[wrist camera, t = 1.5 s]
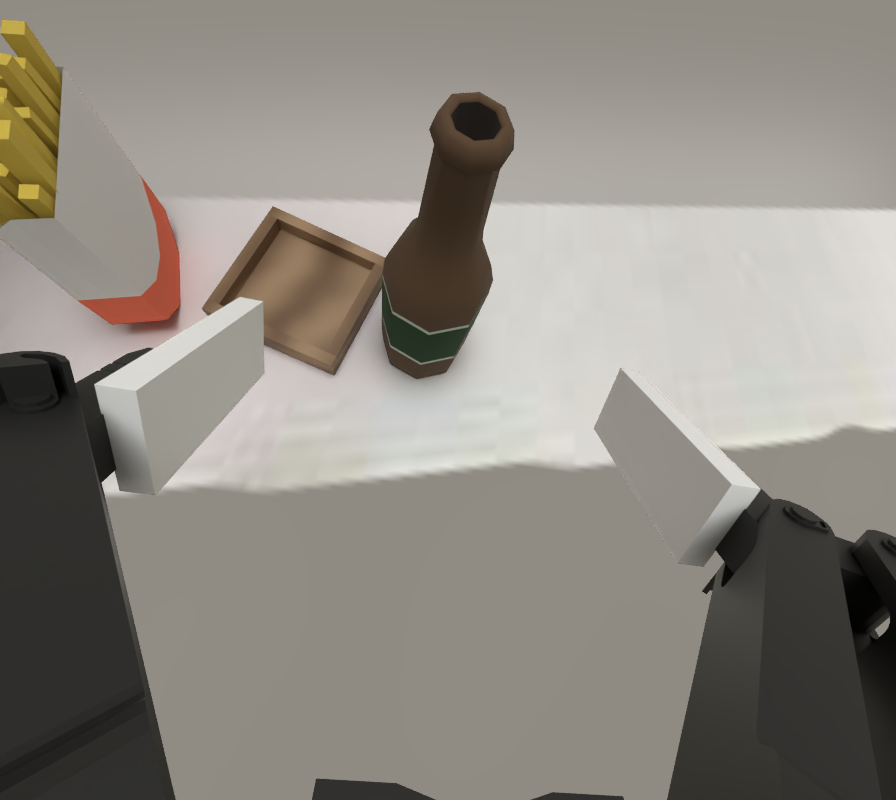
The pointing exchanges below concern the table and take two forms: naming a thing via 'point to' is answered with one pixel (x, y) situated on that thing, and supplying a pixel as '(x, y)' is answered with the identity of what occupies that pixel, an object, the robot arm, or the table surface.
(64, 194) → the french fries container
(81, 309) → the table surface
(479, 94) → the beer bottle
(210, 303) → the wooden tray
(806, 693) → the robot arm
